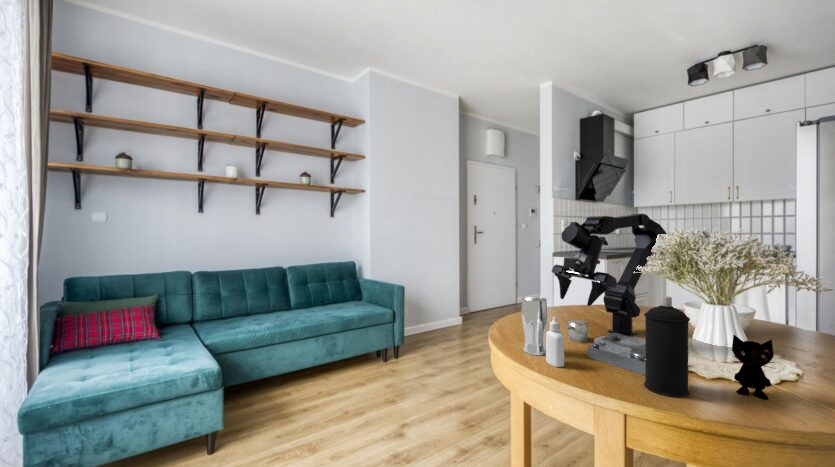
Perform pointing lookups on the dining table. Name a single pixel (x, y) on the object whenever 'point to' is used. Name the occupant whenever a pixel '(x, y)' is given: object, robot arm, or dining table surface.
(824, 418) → the dining table surface
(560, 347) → the eye dropper bottle
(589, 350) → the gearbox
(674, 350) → the aerosol can
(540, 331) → the beer glass
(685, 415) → the dining table surface
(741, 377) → the cat figurine
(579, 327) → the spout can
